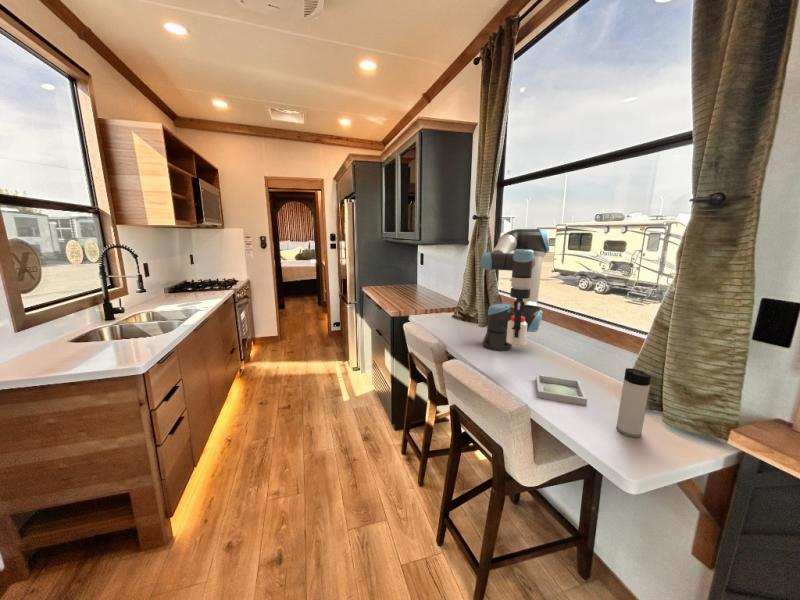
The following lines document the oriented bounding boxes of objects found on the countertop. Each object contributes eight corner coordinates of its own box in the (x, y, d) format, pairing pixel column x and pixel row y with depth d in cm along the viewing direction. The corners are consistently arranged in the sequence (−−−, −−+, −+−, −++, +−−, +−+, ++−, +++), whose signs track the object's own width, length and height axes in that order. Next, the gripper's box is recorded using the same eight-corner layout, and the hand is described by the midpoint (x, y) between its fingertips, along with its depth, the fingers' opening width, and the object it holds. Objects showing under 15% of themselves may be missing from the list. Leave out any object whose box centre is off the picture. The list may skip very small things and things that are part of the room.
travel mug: (610, 426, 100) (619, 366, 96) (629, 425, 101) (639, 366, 97) (625, 438, 94) (636, 375, 90) (646, 437, 95) (657, 374, 91)
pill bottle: (527, 345, 129) (529, 319, 126) (507, 344, 130) (509, 318, 128) (524, 340, 136) (526, 315, 134) (505, 338, 138) (507, 314, 136)
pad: (542, 383, 129) (542, 382, 129) (572, 387, 126) (572, 386, 126) (544, 395, 119) (544, 394, 119) (577, 401, 115) (577, 399, 115)
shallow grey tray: (535, 379, 133) (536, 374, 132) (578, 386, 127) (579, 380, 127) (537, 397, 118) (538, 391, 117) (586, 405, 112) (587, 399, 112)
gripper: (512, 284, 140) (508, 334, 144) (509, 290, 121) (504, 347, 125) (530, 285, 137) (525, 336, 141) (530, 292, 118) (525, 350, 122)
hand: (516, 341), depth 133 cm, fingers closed on pill bottle, 8 cm apart
